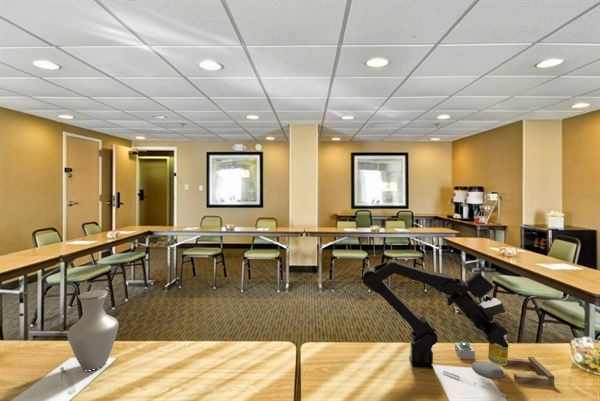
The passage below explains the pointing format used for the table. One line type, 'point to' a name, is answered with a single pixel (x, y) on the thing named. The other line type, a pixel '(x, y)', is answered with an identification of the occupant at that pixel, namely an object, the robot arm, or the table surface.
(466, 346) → the plunger
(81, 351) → the vase
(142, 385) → the table surface
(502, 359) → the supplement bottle
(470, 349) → the plunger block
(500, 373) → the rubber pad
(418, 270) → the robot arm
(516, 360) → the housing rails
